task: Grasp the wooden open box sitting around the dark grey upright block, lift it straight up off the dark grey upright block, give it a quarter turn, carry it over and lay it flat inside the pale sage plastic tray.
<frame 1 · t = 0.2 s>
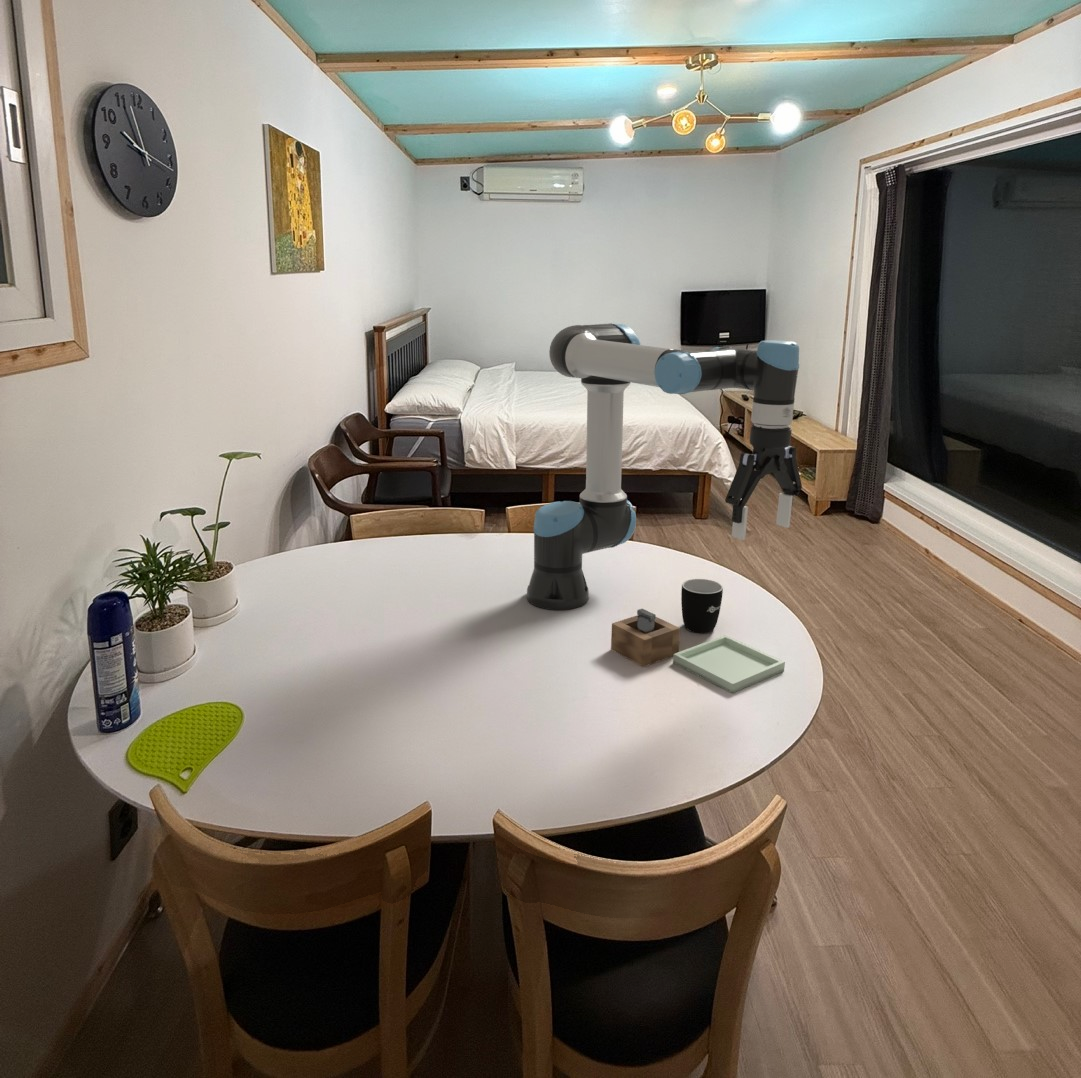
hand: (761, 532, 158), 27 cm above the table, fingers open, 13 cm apart
dark grey upright block: (644, 651, 169), on the table
mug: (702, 626, 182), on the table
wooden open box: (644, 651, 169), on the table
tray: (728, 666, 163), on the table
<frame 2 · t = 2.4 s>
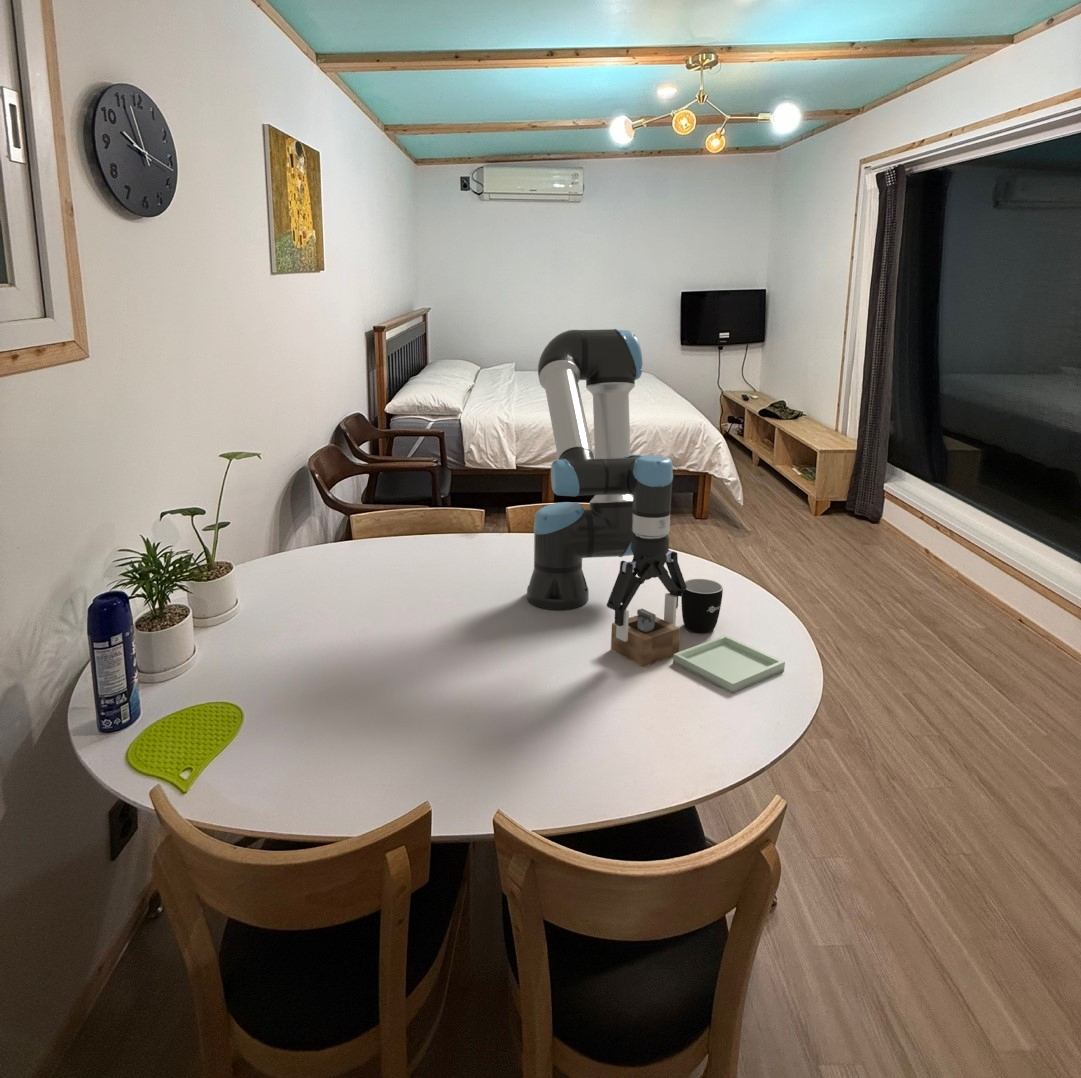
hand: (646, 631, 167), 5 cm above the table, fingers open, 13 cm apart
nothing on the table moved.
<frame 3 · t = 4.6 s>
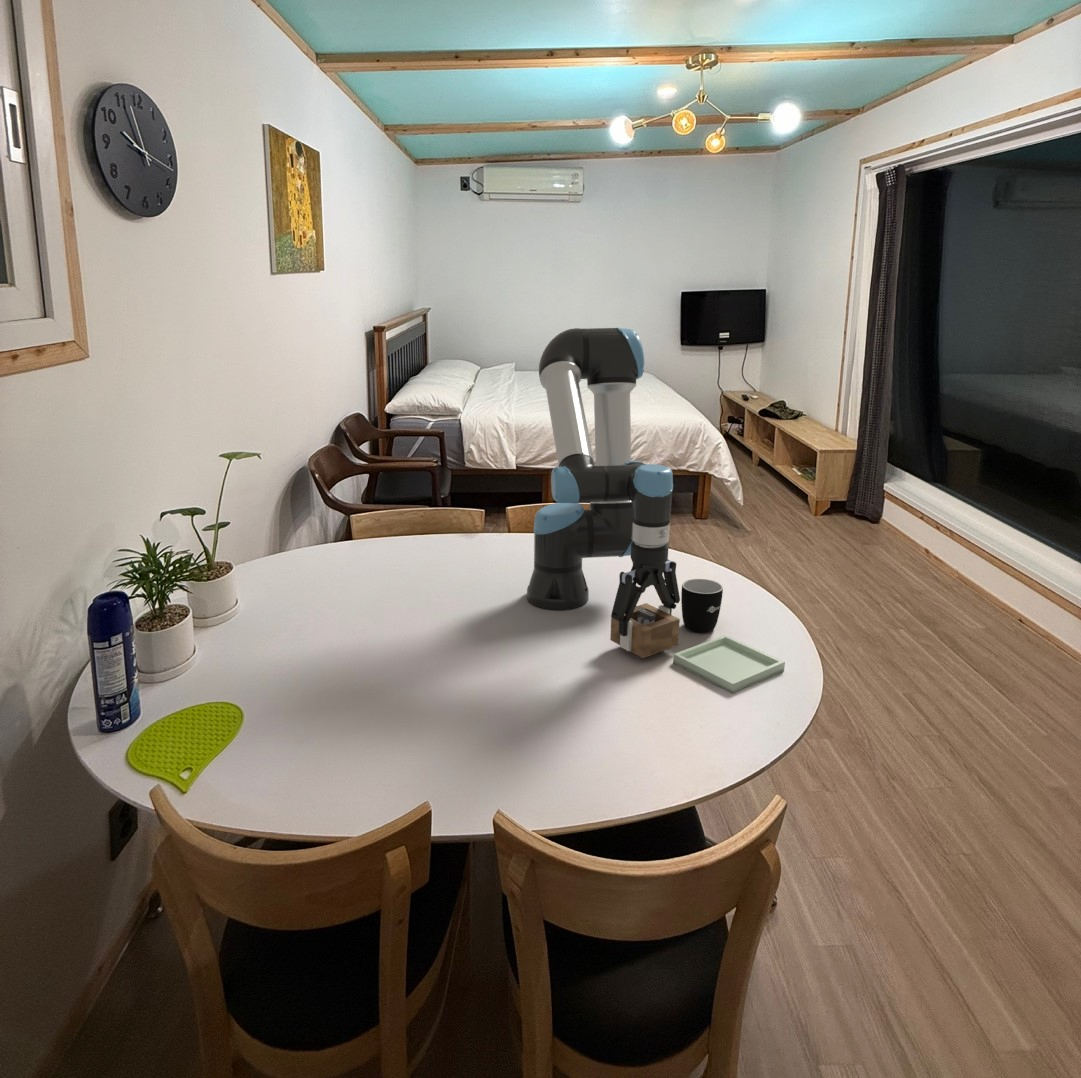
hand: (644, 641, 169), 2 cm above the table, fingers closed on wooden open box, 10 cm apart
wooden open box: (643, 642, 169), point 2 cm above the table, touching gripper
everything else where it was.
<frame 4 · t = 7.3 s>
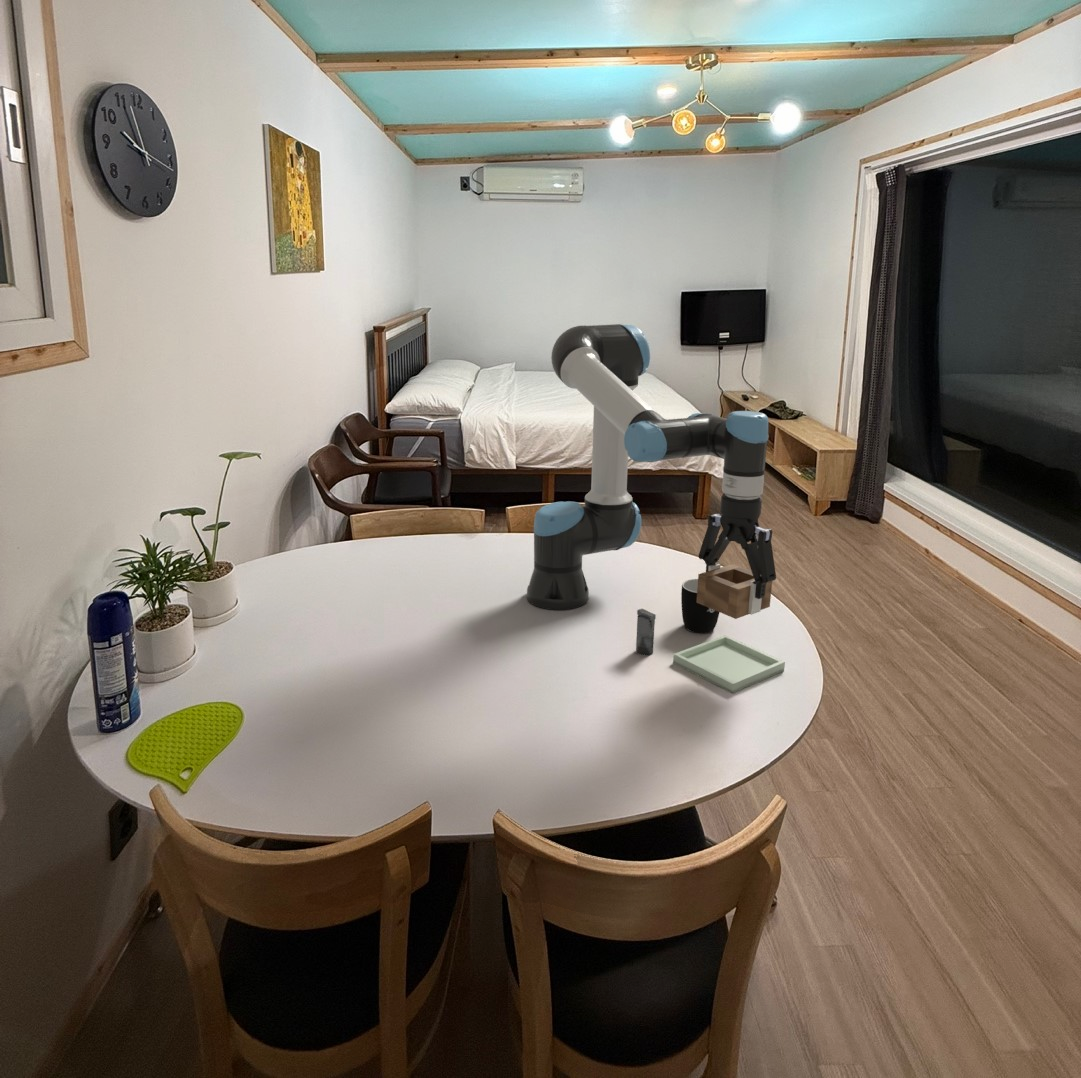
hand: (732, 603, 158), 14 cm above the table, fingers closed on wooden open box, 10 cm apart
wooden open box: (732, 604, 158), point 14 cm above the table, touching gripper
everything else where it was.
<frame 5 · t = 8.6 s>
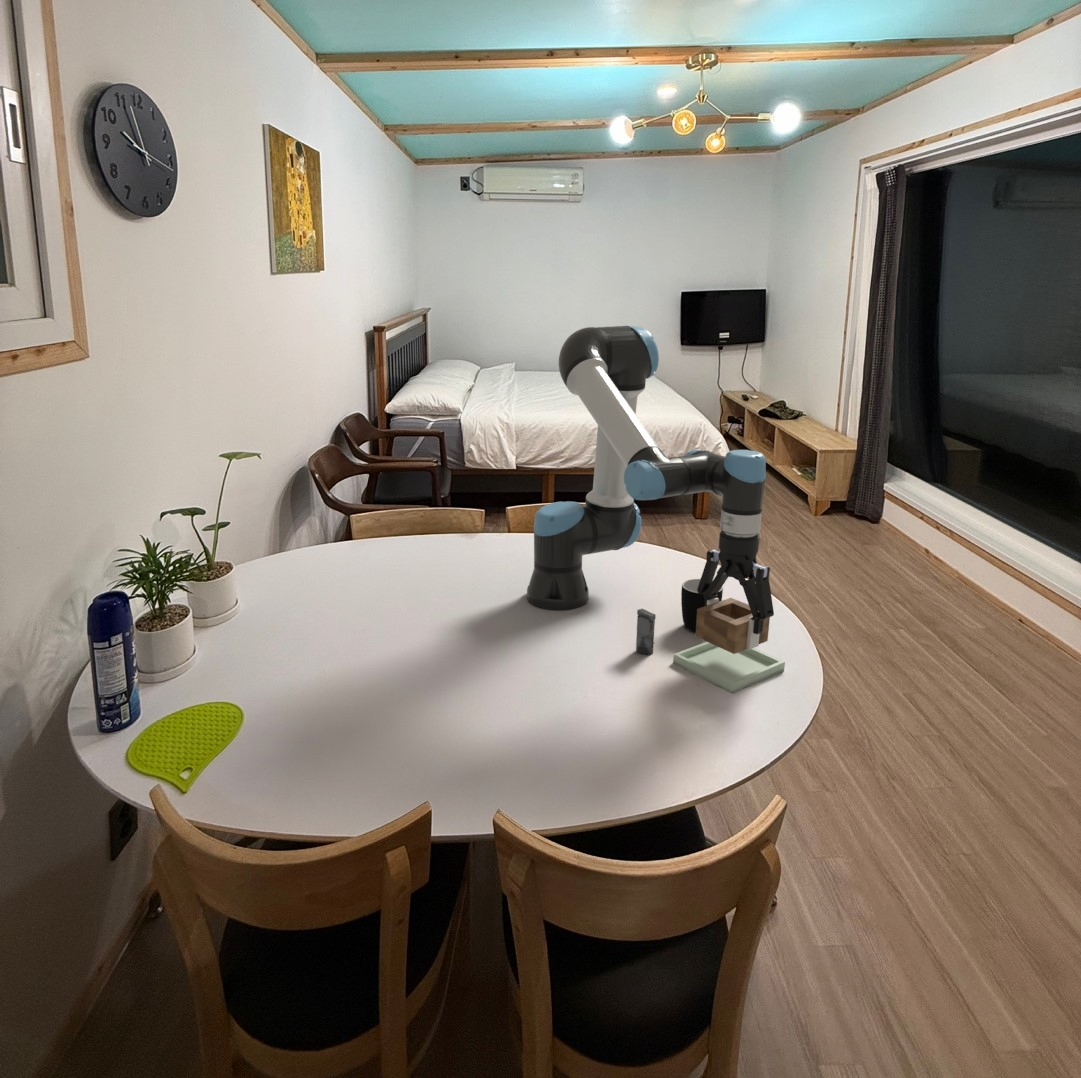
hand: (731, 637, 160), 7 cm above the table, fingers closed on wooden open box, 10 cm apart
wooden open box: (731, 638, 161), point 6 cm above the table, touching gripper
everything else where it was.
when the fingers open (3 cm above the table, at t = 9.9 s): wooden open box drops 2 cm, resting on tray.
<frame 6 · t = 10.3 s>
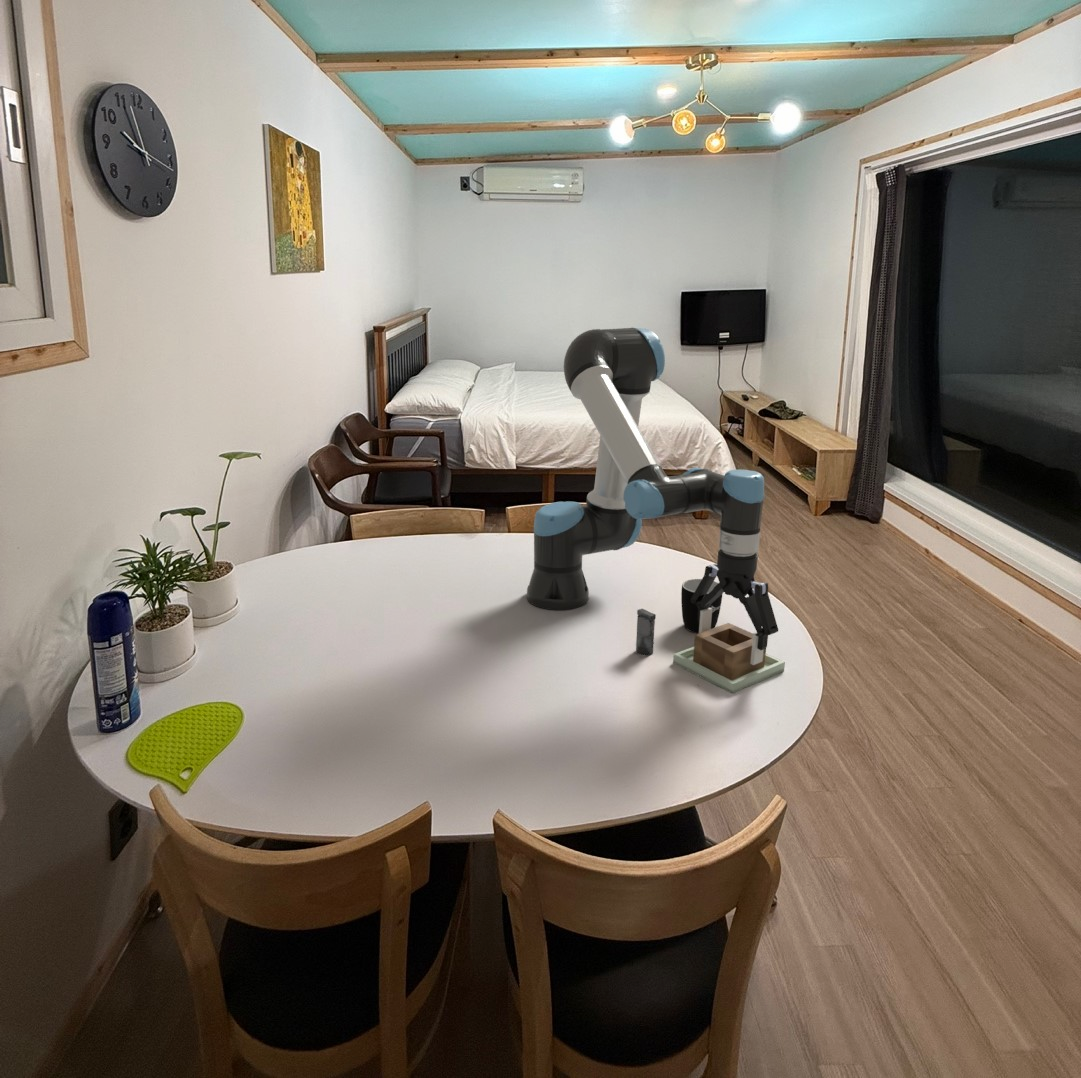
hand: (729, 650, 161), 4 cm above the table, fingers open, 13 cm apart
wooden open box: (728, 664, 162), point 1 cm above the table, touching tray
everything else where it was.
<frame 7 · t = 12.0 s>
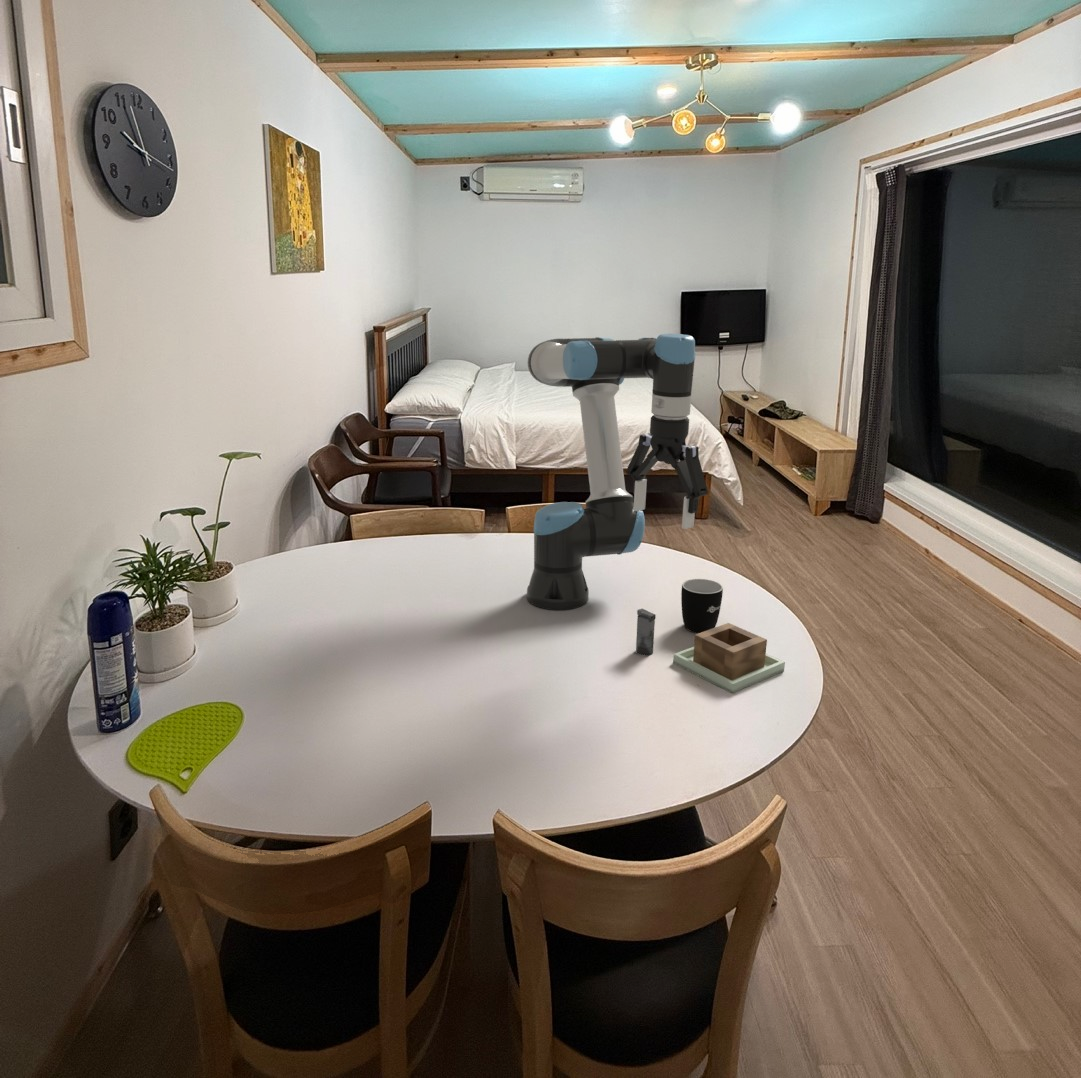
hand: (662, 518, 164), 28 cm above the table, fingers open, 13 cm apart
nothing on the table moved.
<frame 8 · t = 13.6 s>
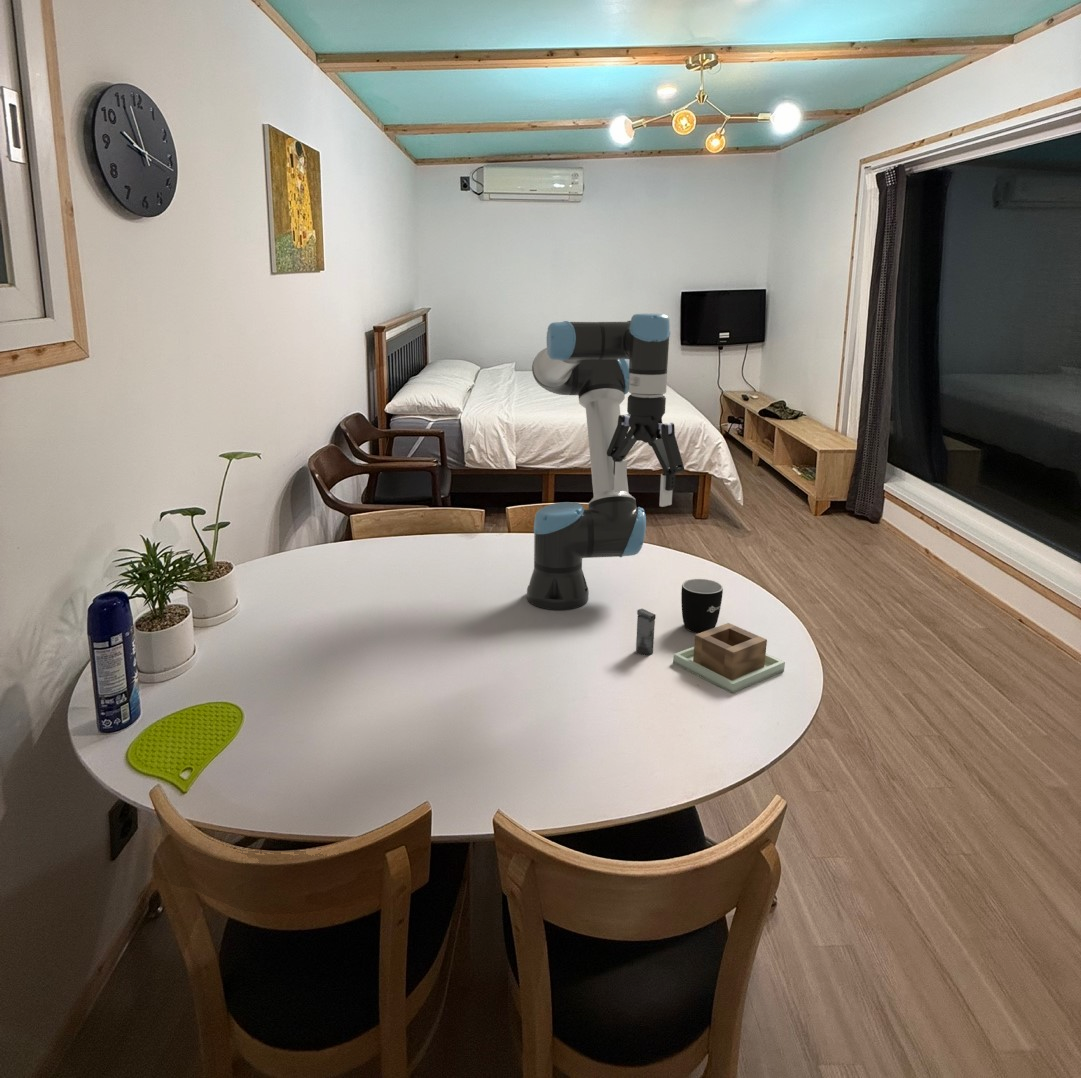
hand: (642, 498, 165), 32 cm above the table, fingers open, 13 cm apart
nothing on the table moved.
at the end: wooden open box inside the target area on the tray (0.1 cm from its centre), point 0.6 cm above the tray's base; wooden open box tilted 0°; the gripper is holding nothing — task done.
